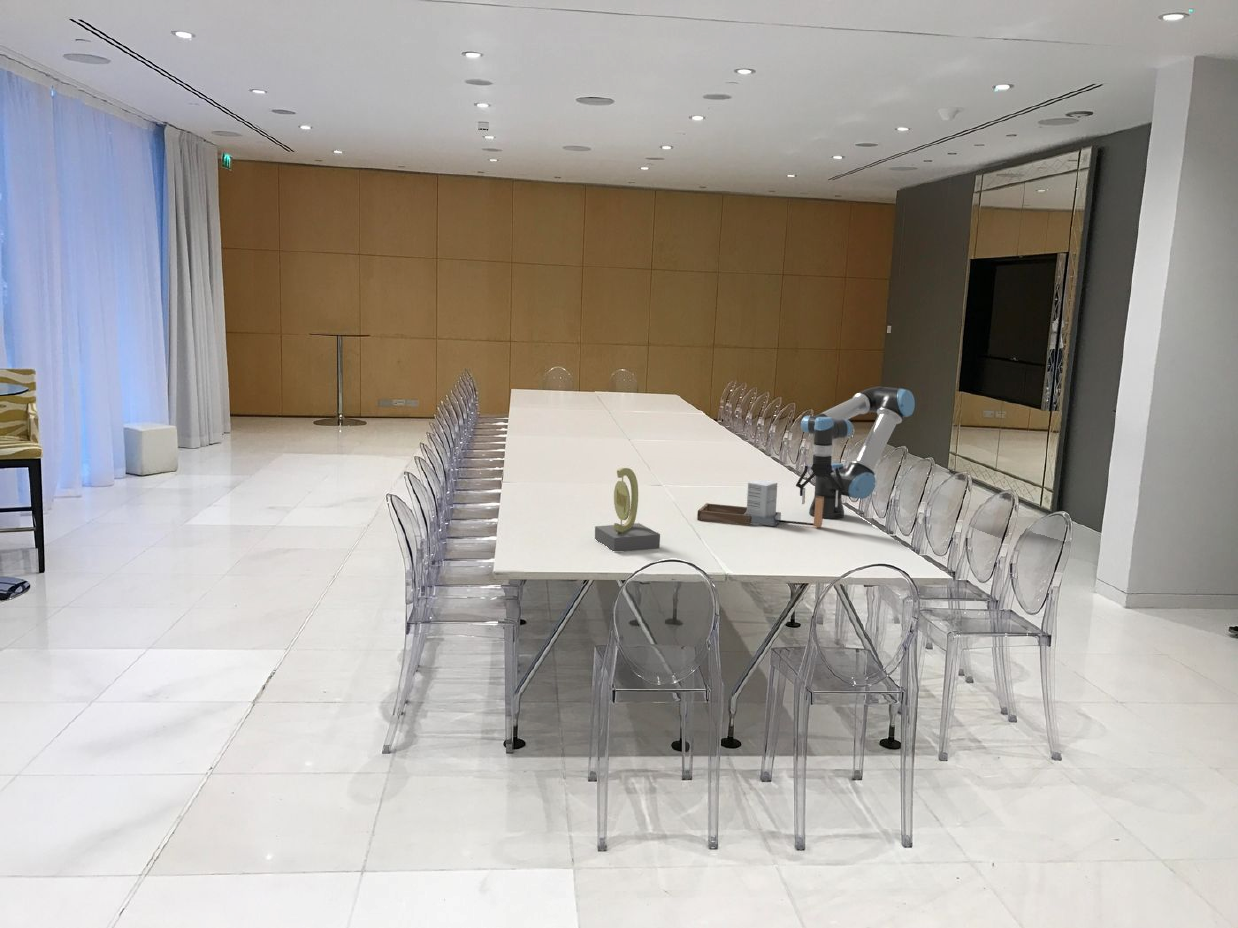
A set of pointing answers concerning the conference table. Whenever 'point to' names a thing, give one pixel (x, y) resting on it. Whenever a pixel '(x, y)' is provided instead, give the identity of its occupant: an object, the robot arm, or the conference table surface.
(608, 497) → the conference table surface
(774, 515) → the supplement box
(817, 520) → the pusher tool
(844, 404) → the robot arm
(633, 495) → the trophy
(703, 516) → the tray
